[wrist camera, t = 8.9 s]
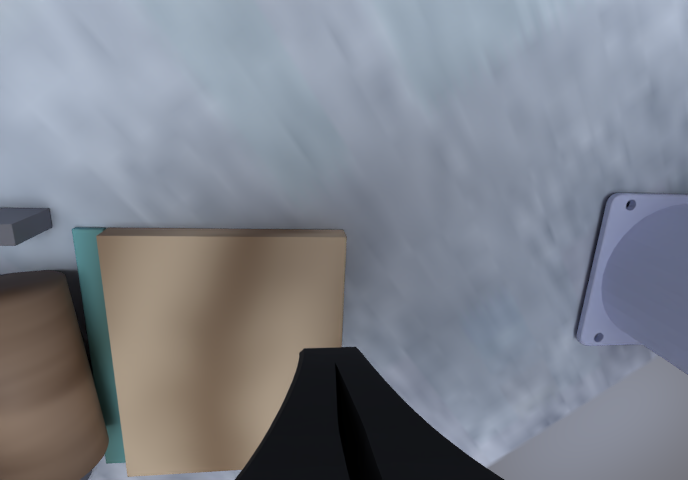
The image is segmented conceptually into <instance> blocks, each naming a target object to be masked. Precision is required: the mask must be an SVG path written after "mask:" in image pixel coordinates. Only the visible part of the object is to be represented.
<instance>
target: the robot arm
mask: <svg viewBox="0 0 688 480" xmlns="http://www.w3.org/2000/svg"><path fill="white" fill-rule="evenodd" d="M629 200H630V204H629V206H628V207H627V208H626V204H627V202H628V201H629ZM596 334H598V335H597V336H596V337H595V335H596ZM594 337H595V338H594ZM577 340H578V341H579V342H580V343H582V344H583V345H585V346H599V345H634V344H643V345H644V346H646V347H647V348H649V349H650V350H652V351H653V352H655V353H656V354H658V355H659V356H661V357H662V358H664V359H665V360H667V361H668V362H670V363H671V364H673V365H674V366H676V367H677V368H679V369H680V370H682V371H683V372H684V373H686V374H688V194H645V193H615V194H613V195H611V196H610V198H609V199H608V201H607V203H606V207H605V212H604V216H603V221H602V225H601V229H600V234H599V238H598V243H597V247H596V251H595V256H594V260H593V265H592V269H591V274H590V278H589V282H588V287H587V291H586V296H585V300H584V304H583V309H582V313H581V318H580V322H579V327H578V331H577ZM235 480H504V479H502V478H501V477H499V476H498V475H496V474H495V473H493V472H492V471H490V470H489V469H487V468H486V467H484V466H483V465H481V464H480V463H478V462H477V461H475V460H474V459H473V458H471V457H470V456H468V455H467V454H466V453H464V452H463V451H462V450H461V449H459V448H458V447H457V446H455V445H454V444H453V443H451V442H450V441H449V440H448V439H446V438H445V437H444V436H442V435H441V434H440V433H439V432H438V431H436V430H435V429H434V428H433V427H432V426H430V425H429V424H428V423H427V422H426V421H425V420H424V419H423V418H422V417H421V416H419V415H418V414H417V413H416V412H415V411H414V410H413V409H412V408H411V407H410V406H409V405H408V404H407V403H406V402H405V401H404V400H403V399H402V398H401V397H400V396H399V395H398V394H397V393H396V392H395V391H394V390H393V389H392V388H391V387H390V385H389V384H388V383H387V382H386V381H385V380H384V379H383V378H382V377H381V375H380V374H379V373H378V372H377V371H376V370H375V369H374V367H373V366H372V365H371V364H370V363H369V361H368V360H367V359H366V358H365V357H364V355H363V354H362V353H361V352H360V351H359V350H358V349H357V348H356V347H335V348H304V349H303V350H302V351H301V352H300V353H299V361H298V365H297V369H296V372H295V375H294V378H293V381H292V383H291V385H290V388H289V390H288V392H287V394H286V397H285V399H284V401H283V403H282V405H281V407H280V409H279V411H278V413H277V415H276V417H275V419H274V420H273V422H272V424H271V426H270V428H269V430H268V431H267V433H266V435H265V436H264V438H263V440H262V441H261V443H260V444H259V446H258V448H257V449H256V451H255V452H254V454H253V455H252V457H251V458H250V459H249V461H248V462H247V464H246V465H245V467H244V468H243V470H242V471H241V472H240V474H239V475H238V476H237V477H236V479H235Z"/></svg>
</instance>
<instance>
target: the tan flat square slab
mask: <svg viewBox="0 0 688 480" xmlns="http://www.w3.org/2000/svg"><path fill="white" fill-rule="evenodd" d="M72 234H73V241H74V247H75V254H76V261H77V268H78V274H79V281H80V288H81V295H82V302H83V308H84V315H85V322H86V329H87V335H88V342H89V349H90V356H91V363H92V369H93V376H94V383H95V388H96V391H97V395H98V399H99V403H100V406H101V410H102V414H103V418H104V421H105V425H106V429H107V433H108V436H109V444H108V448H107V450H106V452H105V458H106V464H107V463H124V462H126V468H127V475H128V477H132V476H148V475H164V474H180V473H196V472H212V471H228V470H243V468H244V467H245V465H246V464H247V462H248V461H249V459H250V458H251V457H252V455H253V454H254V452H255V451H256V449H257V448H258V446H259V444H260V443H261V441H262V440H263V438H264V436H265V435H266V433H267V431H268V430H269V428H270V426H271V424H272V422H273V420H274V419H275V417H276V415H277V413H278V411H279V409H280V407H281V405H282V403H283V401H284V399H285V397H286V394H287V392H288V390H289V388H290V385H291V383H292V381H293V378H294V375H295V372H296V369H297V365H298V361H299V353H300V352H301V351H302V350H303V349H304V348H335V347H341V345H342V324H343V303H344V282H345V260H346V239H347V237H346V235H345V233H344V230H308V229H195V228H107V229H106V228H81V227H75V228H73V229H72Z"/></svg>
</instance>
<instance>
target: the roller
mask: <svg viewBox="0 0 688 480" xmlns="http://www.w3.org/2000/svg"><path fill="white" fill-rule="evenodd" d="M108 444H109V436H108V433H107V429H106V425H105V421H104V418H103V414H102V410H101V406H100V403H99V399H98V395H97V391H96V388H95V384H94V380H93V377H92V373H91V369H90V365H89V362H88V358H87V354H86V350H85V347H84V343H83V339H82V335H81V332H80V328H79V324H78V321H77V317H76V313H75V309H74V306H73V302H72V298H71V294H70V291H69V287H68V283H67V279H66V276H65V275H64V274H63V273H61V272H58V271H52V270H41V271H30V272H19V273H11V274H5V275H1V276H0V480H80V479H81V478H83V477H84V476H85V475H86V474H87V473H89V472H90V471H91V470H92V469H93V468H94V467H95V466H96V465H97V464H98V462H99V461H100V460H101V459H102V457H103V456H104V454H105V452H106V450H107V448H108Z"/></svg>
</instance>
